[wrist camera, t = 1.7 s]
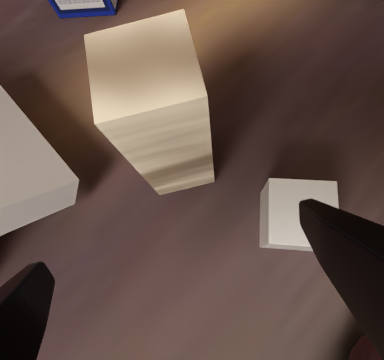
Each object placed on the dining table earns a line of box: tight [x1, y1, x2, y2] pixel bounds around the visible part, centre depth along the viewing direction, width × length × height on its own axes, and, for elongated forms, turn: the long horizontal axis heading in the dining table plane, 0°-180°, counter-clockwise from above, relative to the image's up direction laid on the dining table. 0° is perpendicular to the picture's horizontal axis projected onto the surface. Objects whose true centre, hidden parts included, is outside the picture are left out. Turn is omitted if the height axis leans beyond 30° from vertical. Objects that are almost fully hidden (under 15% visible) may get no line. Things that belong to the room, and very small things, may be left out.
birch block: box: [84, 9, 215, 195], centre depth 19 cm, size 5×5×13 cm
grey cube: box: [260, 178, 339, 251], centre depth 20 cm, size 4×4×4 cm
